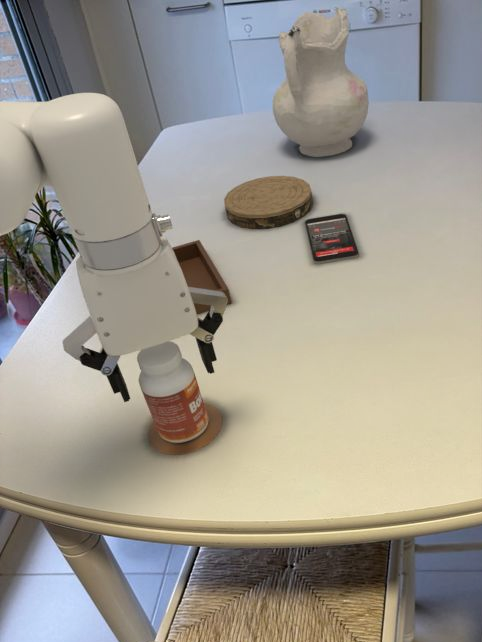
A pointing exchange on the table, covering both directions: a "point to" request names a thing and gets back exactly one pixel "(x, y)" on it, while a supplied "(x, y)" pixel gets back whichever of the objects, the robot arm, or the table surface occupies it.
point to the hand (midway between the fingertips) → (167, 380)
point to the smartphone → (331, 239)
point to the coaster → (192, 445)
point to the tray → (200, 271)
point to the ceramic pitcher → (319, 86)
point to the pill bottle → (171, 393)
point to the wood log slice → (268, 202)
